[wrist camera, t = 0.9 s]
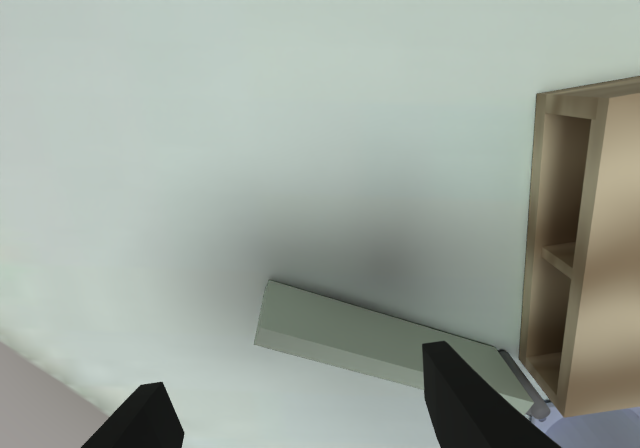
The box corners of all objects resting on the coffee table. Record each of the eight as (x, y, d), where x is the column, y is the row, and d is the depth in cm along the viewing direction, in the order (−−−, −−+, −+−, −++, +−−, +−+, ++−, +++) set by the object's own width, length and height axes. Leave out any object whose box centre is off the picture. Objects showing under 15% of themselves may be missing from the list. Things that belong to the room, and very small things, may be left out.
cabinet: (646, 339, 22) (719, 394, 18) (518, 359, 22) (563, 417, 18) (712, 63, 16) (842, 57, 12) (536, 94, 16) (609, 98, 12)
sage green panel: (512, 352, 22) (554, 408, 18) (503, 364, 22) (543, 421, 18) (269, 279, 19) (260, 327, 16) (263, 294, 20) (253, 344, 16)
